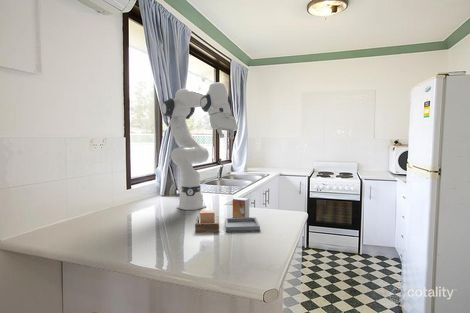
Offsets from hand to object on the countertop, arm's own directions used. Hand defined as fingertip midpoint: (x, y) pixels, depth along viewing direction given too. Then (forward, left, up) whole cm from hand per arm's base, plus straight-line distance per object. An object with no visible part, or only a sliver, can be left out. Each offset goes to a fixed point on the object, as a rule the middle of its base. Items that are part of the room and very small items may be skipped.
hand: (227, 138), depth 149 cm
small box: (-10, +7, -45) cm, 46 cm away
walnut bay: (+8, -11, -44) cm, 46 cm away
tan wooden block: (+7, -11, -44) cm, 46 cm away
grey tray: (+8, +6, -44) cm, 45 cm away
